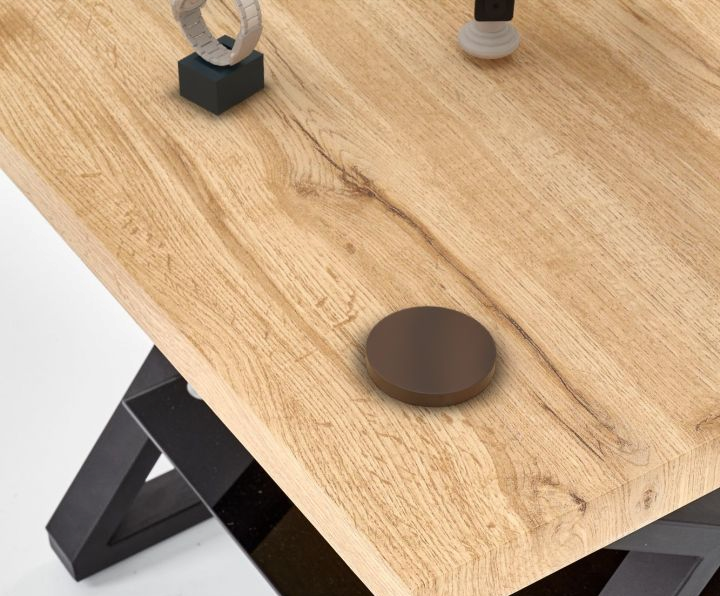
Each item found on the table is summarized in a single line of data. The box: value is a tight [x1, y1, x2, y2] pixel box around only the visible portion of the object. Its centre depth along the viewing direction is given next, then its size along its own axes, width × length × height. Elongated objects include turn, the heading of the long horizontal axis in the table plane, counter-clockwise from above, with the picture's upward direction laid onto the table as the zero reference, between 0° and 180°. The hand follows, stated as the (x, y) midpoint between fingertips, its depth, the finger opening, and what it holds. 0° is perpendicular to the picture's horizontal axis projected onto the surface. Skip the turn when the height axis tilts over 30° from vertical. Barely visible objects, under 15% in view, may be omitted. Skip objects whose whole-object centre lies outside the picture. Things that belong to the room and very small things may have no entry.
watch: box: [167, 0, 265, 116], centre depth 126 cm, size 6×8×11 cm
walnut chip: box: [364, 305, 498, 408], centre depth 108 cm, size 9×9×1 cm
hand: (491, 4), depth 131 cm, fingers closed on chess piece, 3 cm apart
